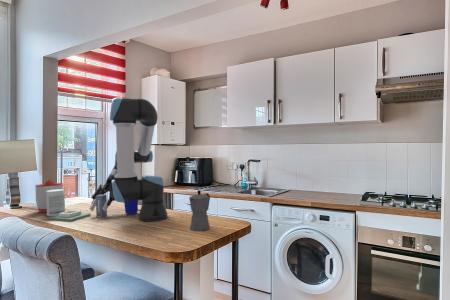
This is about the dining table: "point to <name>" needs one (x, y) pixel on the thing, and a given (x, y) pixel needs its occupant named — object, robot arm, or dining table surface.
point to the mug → (131, 207)
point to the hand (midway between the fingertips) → (97, 209)
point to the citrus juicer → (41, 193)
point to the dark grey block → (100, 205)
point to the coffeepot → (199, 212)
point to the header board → (69, 216)
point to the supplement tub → (55, 202)
